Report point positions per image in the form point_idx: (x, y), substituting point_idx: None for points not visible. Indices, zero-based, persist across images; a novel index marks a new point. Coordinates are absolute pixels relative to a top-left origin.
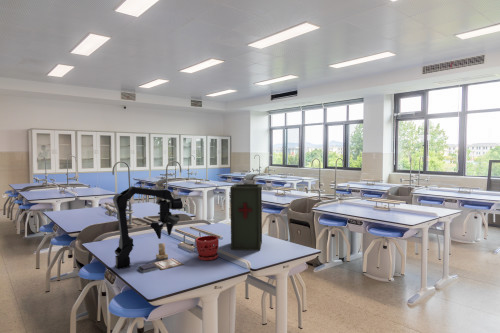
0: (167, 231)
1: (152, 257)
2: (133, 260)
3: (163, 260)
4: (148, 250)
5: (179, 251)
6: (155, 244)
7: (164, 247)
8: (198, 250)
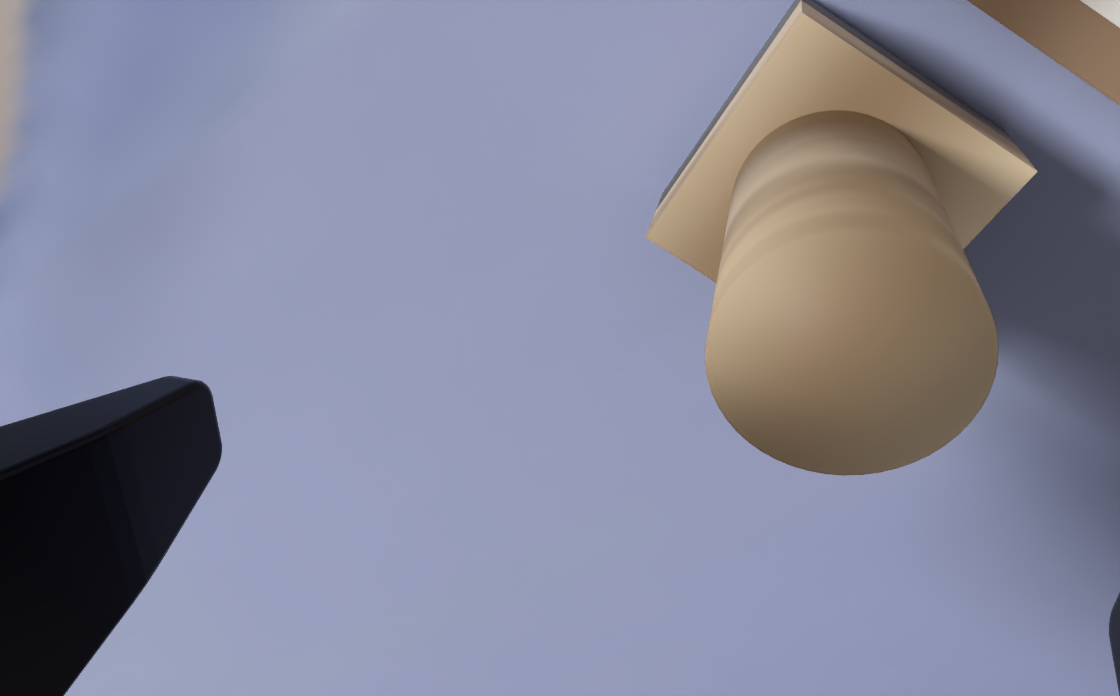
0: (90, 653)
1: None
2: (1030, 681)
3: (1015, 17)
4: (404, 664)
5: (153, 60)
6: (110, 681)
7: (858, 183)
8: None
